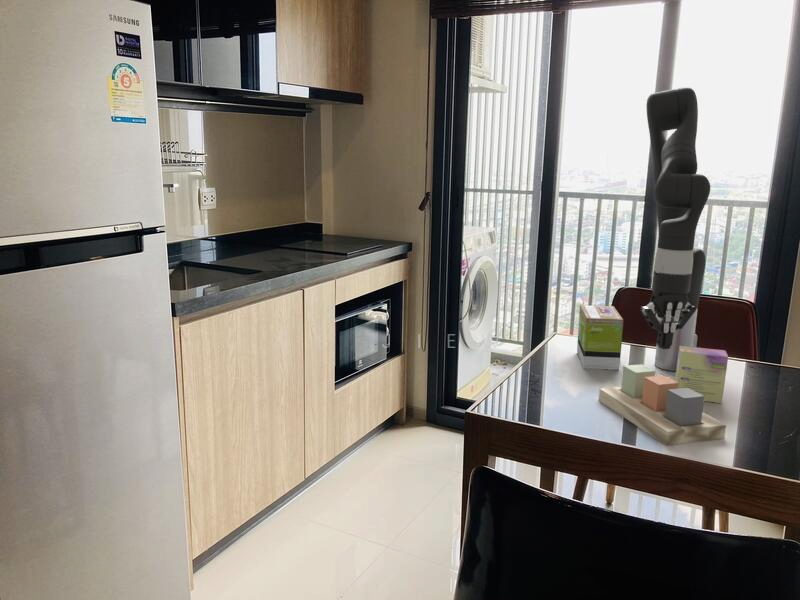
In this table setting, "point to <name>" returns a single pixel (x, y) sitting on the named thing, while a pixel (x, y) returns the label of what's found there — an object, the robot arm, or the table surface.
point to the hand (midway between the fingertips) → (663, 348)
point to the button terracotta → (657, 392)
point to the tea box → (599, 337)
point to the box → (702, 371)
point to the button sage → (635, 379)
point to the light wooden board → (660, 420)
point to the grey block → (684, 407)
